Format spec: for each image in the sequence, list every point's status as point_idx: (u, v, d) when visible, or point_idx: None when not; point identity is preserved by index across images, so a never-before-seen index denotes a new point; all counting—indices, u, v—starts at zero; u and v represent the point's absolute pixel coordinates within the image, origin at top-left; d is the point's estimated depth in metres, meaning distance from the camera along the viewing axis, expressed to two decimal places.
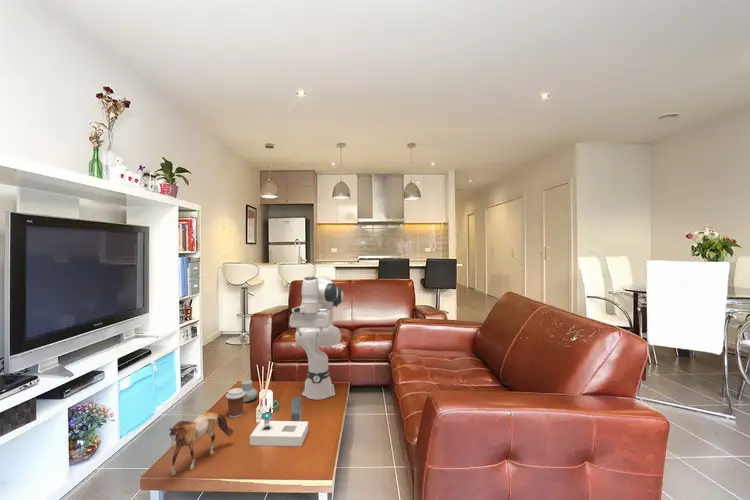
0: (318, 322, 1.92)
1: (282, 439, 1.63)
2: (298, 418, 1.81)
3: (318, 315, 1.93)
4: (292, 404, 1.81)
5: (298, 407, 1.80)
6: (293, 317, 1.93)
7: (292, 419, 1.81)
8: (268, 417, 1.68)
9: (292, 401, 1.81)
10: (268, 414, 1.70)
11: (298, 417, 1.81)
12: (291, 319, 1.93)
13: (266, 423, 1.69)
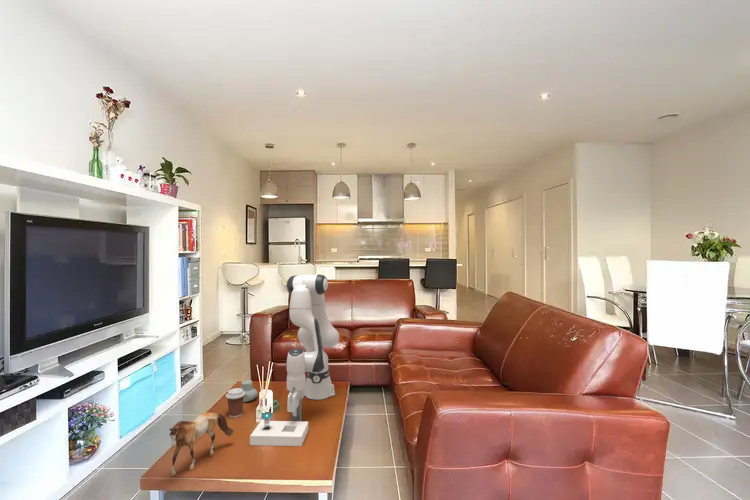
0: None
1: (282, 439, 1.63)
2: (298, 418, 1.81)
3: None
4: None
5: (298, 407, 1.80)
6: None
7: (292, 419, 1.81)
8: (268, 417, 1.68)
9: None
10: (268, 414, 1.70)
11: (298, 417, 1.81)
12: None
13: (266, 423, 1.69)
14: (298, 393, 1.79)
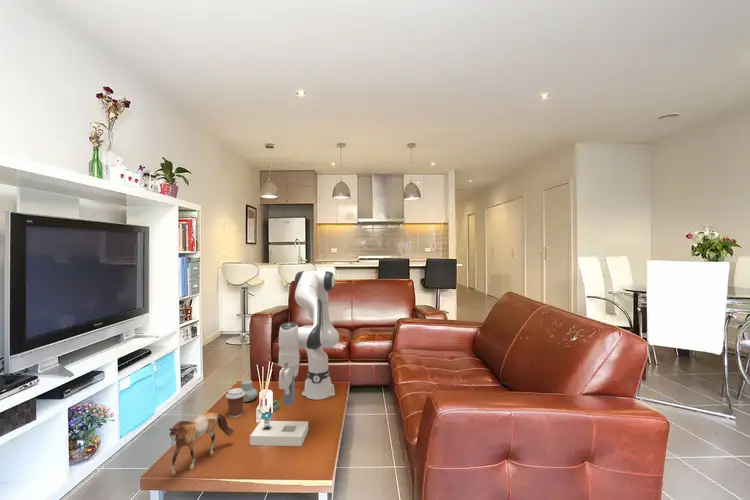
0: None
1: (282, 439, 1.63)
2: (291, 397, 1.67)
3: None
4: None
5: (291, 385, 1.67)
6: None
7: (284, 398, 1.67)
8: (268, 417, 1.68)
9: None
10: (268, 414, 1.70)
11: (291, 396, 1.67)
12: None
13: (266, 423, 1.69)
14: (291, 369, 1.66)
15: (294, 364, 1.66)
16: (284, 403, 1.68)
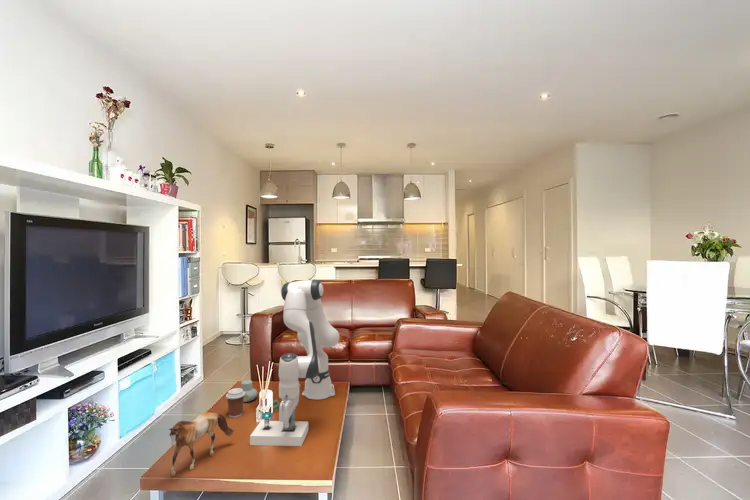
0: None
1: (282, 439, 1.63)
2: (291, 431, 1.68)
3: None
4: None
5: (291, 420, 1.68)
6: None
7: None
8: (268, 417, 1.68)
9: None
10: (268, 414, 1.70)
11: (291, 430, 1.68)
12: None
13: (266, 423, 1.69)
14: (291, 401, 1.66)
15: (294, 396, 1.66)
16: None
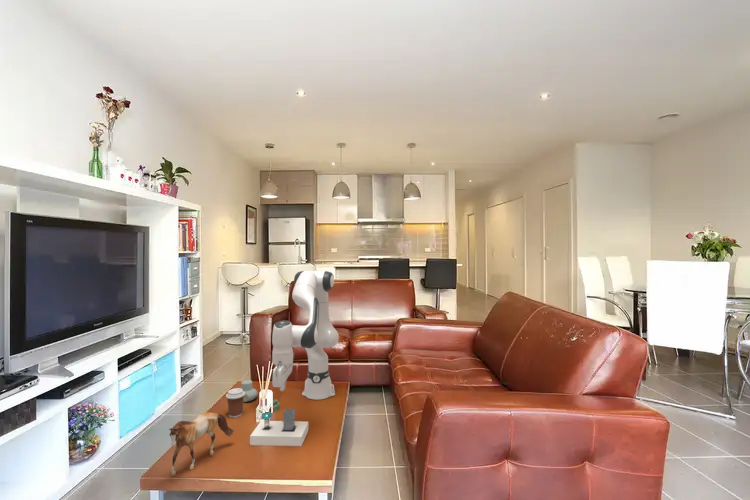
0: None
1: (282, 439, 1.63)
2: (291, 431, 1.68)
3: None
4: (284, 416, 1.68)
5: (291, 420, 1.68)
6: None
7: None
8: (268, 417, 1.68)
9: (284, 413, 1.68)
10: (268, 414, 1.70)
11: (291, 430, 1.68)
12: None
13: (266, 423, 1.69)
14: (284, 368, 1.66)
15: (288, 362, 1.66)
16: None
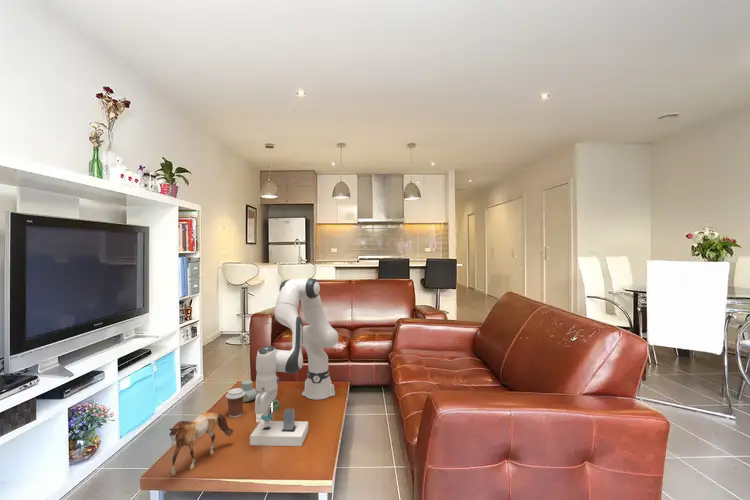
0: None
1: (282, 439, 1.63)
2: (291, 431, 1.68)
3: None
4: (284, 416, 1.68)
5: (291, 420, 1.68)
6: None
7: None
8: (268, 418, 1.68)
9: (284, 413, 1.68)
10: (268, 415, 1.70)
11: (291, 430, 1.68)
12: None
13: (266, 424, 1.69)
14: (268, 394, 1.67)
15: (271, 388, 1.67)
16: None
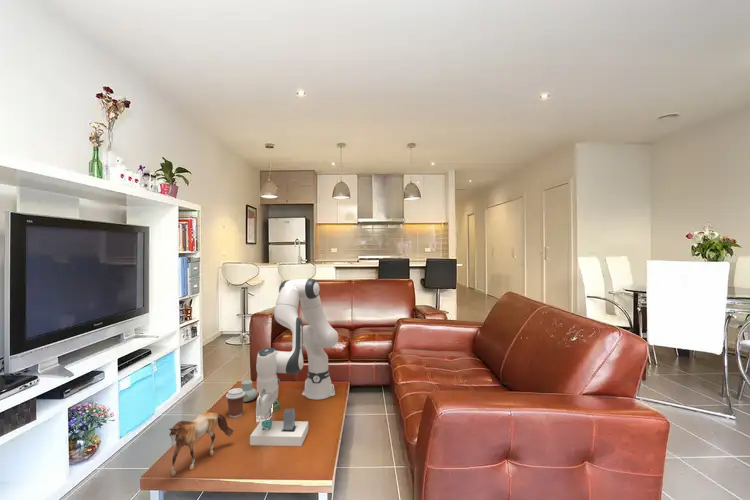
0: None
1: (282, 439, 1.63)
2: (291, 431, 1.68)
3: None
4: (284, 416, 1.68)
5: (291, 420, 1.68)
6: None
7: None
8: (268, 425, 1.68)
9: (284, 413, 1.68)
10: (268, 422, 1.70)
11: (291, 430, 1.68)
12: None
13: None
14: (269, 395, 1.67)
15: (272, 390, 1.67)
16: None
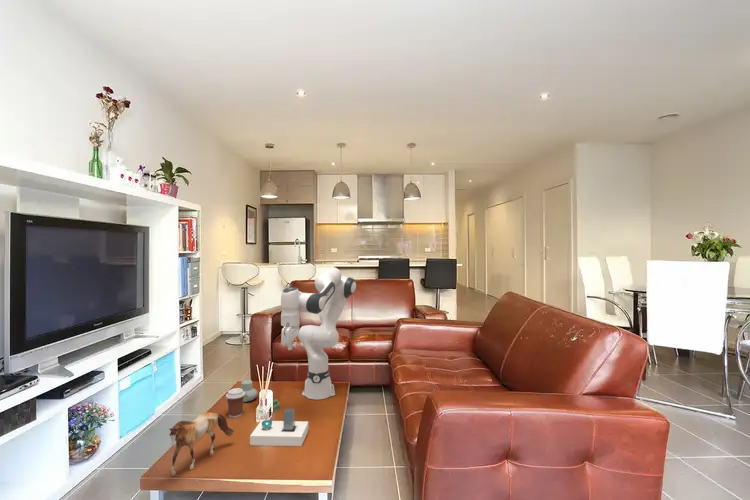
0: None
1: (282, 439, 1.63)
2: (291, 431, 1.68)
3: None
4: (284, 416, 1.68)
5: (291, 420, 1.68)
6: None
7: None
8: (268, 425, 1.68)
9: (284, 413, 1.68)
10: (268, 422, 1.70)
11: (291, 430, 1.68)
12: None
13: None
14: (292, 329, 1.84)
15: (295, 324, 1.84)
16: None
